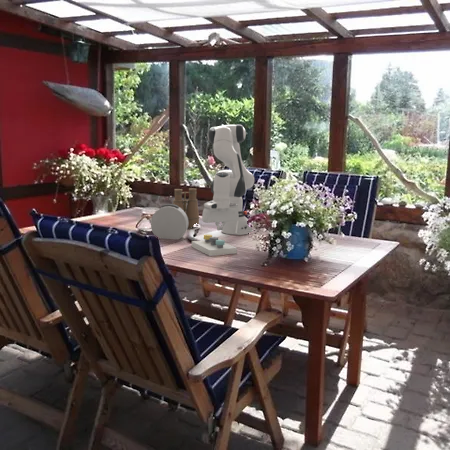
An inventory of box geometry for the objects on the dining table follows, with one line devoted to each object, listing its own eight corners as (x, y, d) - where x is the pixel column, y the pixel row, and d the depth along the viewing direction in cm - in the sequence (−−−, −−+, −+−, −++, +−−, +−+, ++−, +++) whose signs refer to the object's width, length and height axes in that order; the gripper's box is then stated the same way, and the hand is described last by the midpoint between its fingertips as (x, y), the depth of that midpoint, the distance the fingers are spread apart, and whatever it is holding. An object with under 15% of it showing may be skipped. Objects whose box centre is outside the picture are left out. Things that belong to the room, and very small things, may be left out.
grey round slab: (188, 237, 315) (189, 204, 311) (186, 239, 308) (186, 206, 304) (153, 235, 317) (153, 202, 313) (150, 237, 310) (150, 204, 306)
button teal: (221, 248, 282) (222, 239, 281) (226, 250, 278) (226, 241, 277) (213, 248, 280) (214, 240, 279) (218, 250, 276) (218, 242, 275)
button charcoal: (215, 245, 288) (215, 236, 287) (219, 247, 284) (220, 238, 283) (207, 245, 286) (208, 237, 285) (211, 247, 282) (212, 239, 281)
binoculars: (194, 224, 353) (195, 187, 348) (202, 227, 345) (203, 189, 340) (167, 227, 341) (167, 188, 336) (174, 230, 333) (175, 190, 328)
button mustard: (209, 242, 294) (209, 234, 293) (213, 244, 290) (213, 235, 289) (201, 243, 292) (202, 234, 291) (205, 244, 288) (206, 236, 287)
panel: (217, 244, 299) (217, 239, 298) (236, 253, 280) (236, 247, 279) (191, 246, 291) (191, 241, 290) (209, 255, 272) (210, 250, 272)
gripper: (235, 202, 282) (234, 227, 285) (201, 203, 272) (200, 230, 275) (241, 204, 277) (240, 230, 279) (206, 205, 267) (205, 232, 269)
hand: (220, 230), depth 277 cm, fingers closed
